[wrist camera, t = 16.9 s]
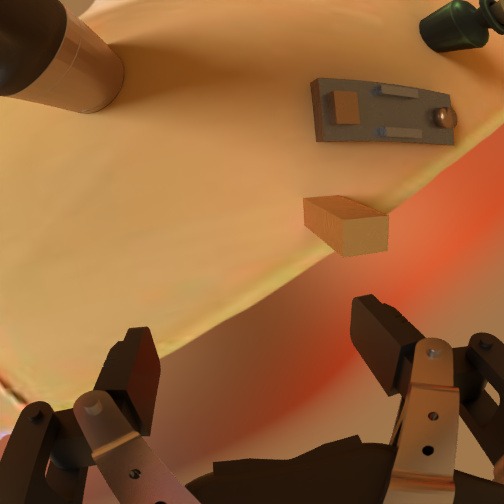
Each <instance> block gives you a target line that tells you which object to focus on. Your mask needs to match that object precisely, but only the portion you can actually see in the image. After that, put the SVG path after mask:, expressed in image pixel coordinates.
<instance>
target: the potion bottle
mask: <svg viewBox="0 0 504 504" xmlns="http://www.w3.org/2000/svg"><path fill="white" fill-rule="evenodd" d="M479 5H480V7H479V8H478V9H476V8H475V7H474V6H473V5H472V4H470V3H469V2H467V1H463V0H453V1H451V2H450V3H448V4H446V5H445V6H443V7H441V8H440V9H438V10H437V11H435V12H434V13H432V14H430V15H429V16H427V17H426V18H424V19H423V20H421V22H420V24H419V28H420V34H421V36H422V39H423V40H424V41H425V43H426V44H427V45H428V46H429V47H430V48H431V49H432V50H434V51H436V52H449V51H456V50H464V49H472V48H481V47H483V46H484V45H486V43H487V42H488V39H489V32H488V28H492V29H493V30H494V31H496V32H497V33H498V34H501V35H503V34H504V0H499V1H498V2H496V1H495V0H479Z"/></svg>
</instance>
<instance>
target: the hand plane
mask: <svg viewBox="0 0 504 504" xmlns="http://www.w3.org/2000/svg"><path fill="white" fill-rule="evenodd" d="M310 84H311V93H312V102H313V111H314V121H315V132H316V142H326V141H385V142H410V143H427V144H440V145H454V137H453V128H454V127H455V126H456V124H457V116H456V113H455V111H454V110H453V109H452V108H451V102H450V95H448V94H444V93H439V92H434V91H429V90H424V89H419V88H413V87H407V86H400V85H394V84H386V83H378V82H369V81H358V80H345V79H328V78H317V79H316V80H314V81H313V82H311V83H310Z"/></svg>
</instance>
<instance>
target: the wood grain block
mask: <svg viewBox="0 0 504 504" xmlns="http://www.w3.org/2000/svg"><path fill="white" fill-rule="evenodd" d="M303 208H304V225H305V226H306V227H307V228H309V229H310V230H311V231H312V232H313V233H315V234H316V235H317V236H318V237H319V238H321V239H322V240H323V241H324V242H325V243H327V244H328V245H329V246H330V247H331V248H332V249H334V250H335V251H336V252H337V253H338V254H340V255H341V256H342V257H350V256H357V255H363V254H370V253H377V252H383V251H387V250H388V227H389V216H388V215H386V214H384V213H382V212H379V211H377V210H374V209H372V208H369V207H367V206H364V205H362V204H359V203H357V202H354V201H352V200H349V199H346V198H344V197H341V196H339V195H336V196H324V197H312V198H303Z"/></svg>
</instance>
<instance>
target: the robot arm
mask: <svg viewBox="0 0 504 504" xmlns="http://www.w3.org/2000/svg"><path fill="white" fill-rule="evenodd" d="M123 78H124V68H123V63H122V61H121V60H120V58H119V57H118V56H117V55H116V54H115V53H114V52H113V51H112V50H111V49H110V48H109V47H108V46H107V44H106V43H105V42H104V41H103V40H102V39H101V38H100V37H99V36H98V35H97V34H96V33H95V32H93V31H92V30H91V29H90V28H89V27H88V26H87V25H86V24H85V23H84V22H83V21H82V20H80V19H79V18H77V17H76V16H75V15H74V14H73V13H72V12H71V11H69V10H68V9H67V8H66V7H65V6H64V5H63V4H62V3H61V2H60V1H58V0H0V96H4V97H10V98H15V99H21V100H26V101H30V102H35V103H40V104H44V105H49V106H53V107H57V108H62V109H66V110H70V111H74V112H78V113H85V114H86V113H93V112H96V111H99V110H100V109H102V108H104V107H105V106H107V105H108V104H109V103H110V102H111V101H112V100H113V99H114V98H115V97H116V95H117V93H118V92H119V90H120V88H121V86H122V83H123ZM350 335H351V340H352V343H353V345H354V346H355V348H356V349H357V351H358V352H359V353H360V355H361V357H362V358H363V359H364V361H365V362H366V364H367V365H368V367H369V368H370V370H371V371H372V373H373V374H374V376H375V377H376V379H377V380H378V382H379V383H380V384H381V386H382V388H383V389H384V391H385V392H386V393H387V395H388V396H392V395H395V394H398V393H400V394H401V396H402V397H401V400H400V404H399V409H398V412H397V417H396V421H395V425H394V429H393V433H392V436H391V440H390V442H389V445H387V444H382V443H362V442H361V440H360V438H359V436H358V435H355V436H351V437H348V438H344V439H341V440H337V441H334V442H330V443H326V444H323V445H321V446H319V447H317V448H315V449H313V450H311V451H309V452H306V453H305V454H302V455H300V456H298V457H295V458H293V459H289V460H272V459H251V458H249V459H241V460H232V461H222V462H213V472H211V473H208V474H205V475H203V476H201V477H198V478H196V479H194V480H193V481H191V482H189V483H188V484H186V485H185V486H183V485H182V484H181V483H180V481H179V480H178V479H177V478H176V477H175V476H174V475H173V474H172V473H171V472H170V471H169V469H168V468H167V467H166V466H165V465H164V464H163V463H162V461H161V460H160V459H159V458H158V457H157V455H156V454H155V453H154V452H153V451H152V449H151V448H150V447H149V446H148V445H147V443H146V442H145V441H144V439H143V438H142V437H141V436H150V433H151V425H152V419H153V413H154V407H155V401H156V395H157V389H158V384H159V378H160V371H161V369H160V361H159V357H158V354H157V351H156V348H155V345H154V342H153V338H152V335H151V332H150V329H149V328H148V327H136V328H129V329H128V331H127V333H126V336H125V338H124V341H118V342H117V343H116V344H115V345H114V346H113V347H112V348H111V349H110V351H109V353H108V355H107V358H106V359H107V360H105V362H104V365H103V366H104V367H102V370H101V372H100V374H99V377H98V379H97V382H96V384H95V387H94V389H93V391H89V392H87V393H85V394H83V395H81V396H80V397H79V398H78V399H77V400H76V402H75V403H74V406H73V408H71V409H67V410H61V411H56V412H54V411H53V409H52V408H51V406H50V405H49V404H48V403H46V402H43V401H37V402H33V403H31V404H29V405H28V406H26V407H25V408H24V409H23V410H22V412H21V414H20V416H19V418H18V420H17V422H16V425H15V427H14V429H13V431H12V434H11V436H10V438H9V441H8V443H7V446H6V448H5V451H4V453H3V456H2V458H1V461H0V504H82V501H83V495H84V488H85V483H86V477H87V471H88V466H93V465H97V466H98V468H99V470H100V472H101V473H102V475H103V477H104V479H105V480H106V482H107V483H108V485H109V487H110V488H111V490H112V492H113V493H114V495H115V496H116V498H117V499H118V501H119V502H120V504H504V344H503V343H502V342H501V341H500V340H499V339H498V338H496V337H495V336H493V335H491V334H488V333H476V334H474V335H472V336H471V338H470V341H469V344H468V346H466V347H458V348H452V347H451V346H450V345H449V344H448V343H447V342H446V341H444V340H442V339H438V338H426V337H424V335H423V334H421V333H420V332H419V331H418V330H417V329H416V328H415V327H414V326H413V325H412V324H411V323H410V322H408V320H407V319H406V318H405V317H404V316H402V314H401V313H400V312H399V311H397V310H396V309H395V308H394V307H392V306H389V305H387V304H385V303H384V304H382V303H381V302H380V301H379V300H378V299H377V298H376V297H375V296H374V295H372V294H369V295H364V296H360V297H355V298H354V299H353V301H352V311H351V325H350ZM487 382H489V383H490V384H491V385H492V386H493V387H494V388H495V390H496V391H497V392H498V393H499V396H500V405H499V406H498V405H497V404H496V403H495V402H494V400H493V399H492V398H491V397H490V395H489V394H488V393H487V392H486V391H485V389H484V388H485V387H486V384H487ZM459 415H460V417H461V418H462V419H463V421H464V422H465V424H466V425H467V427H468V428H469V429H470V431H471V432H472V434H473V435H474V437H475V438H476V440H477V441H478V443H479V444H480V446H481V447H482V449H483V450H484V452H485V453H486V455H487V456H488V458H489V459H490V461H491V463H492V464H493V465H494V471H493V474H494V479H493V480H492V481H491V480H487V479H484V478H480V477H477V476H473V475H470V474H467V473H464V472H461V471H458V470H455V469H454V465H455V458H456V449H457V438H458V424H459ZM49 459H50V464H49V467H48V471H47V475H46V478H45V471H46V467H47V463H48V460H49Z"/></svg>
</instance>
